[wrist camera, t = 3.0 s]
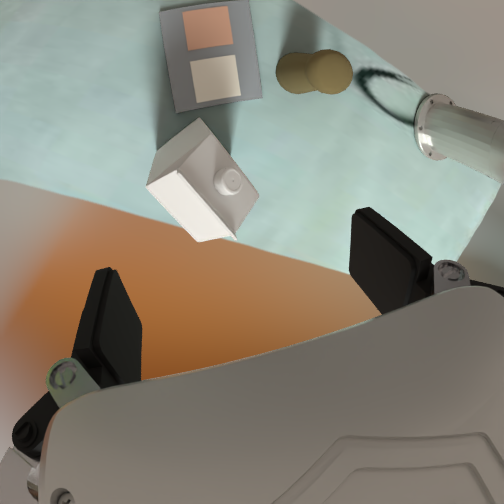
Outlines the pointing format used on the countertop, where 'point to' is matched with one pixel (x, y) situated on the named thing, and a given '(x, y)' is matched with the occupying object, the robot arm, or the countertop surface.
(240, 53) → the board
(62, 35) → the countertop surface
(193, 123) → the milk carton
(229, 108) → the countertop surface
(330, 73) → the cork
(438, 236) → the countertop surface
